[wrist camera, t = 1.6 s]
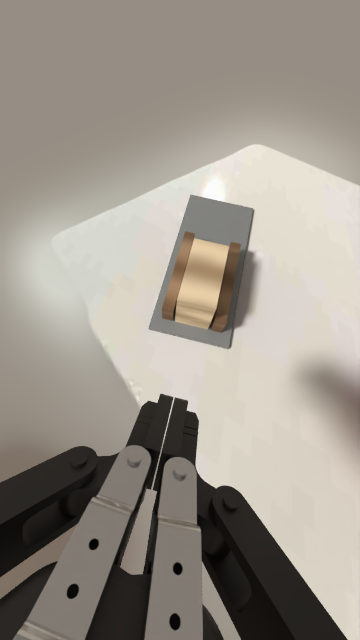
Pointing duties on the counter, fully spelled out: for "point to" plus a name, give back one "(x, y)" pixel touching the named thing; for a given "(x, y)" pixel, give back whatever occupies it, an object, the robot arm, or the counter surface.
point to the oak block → (201, 284)
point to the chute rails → (226, 285)
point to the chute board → (218, 227)
